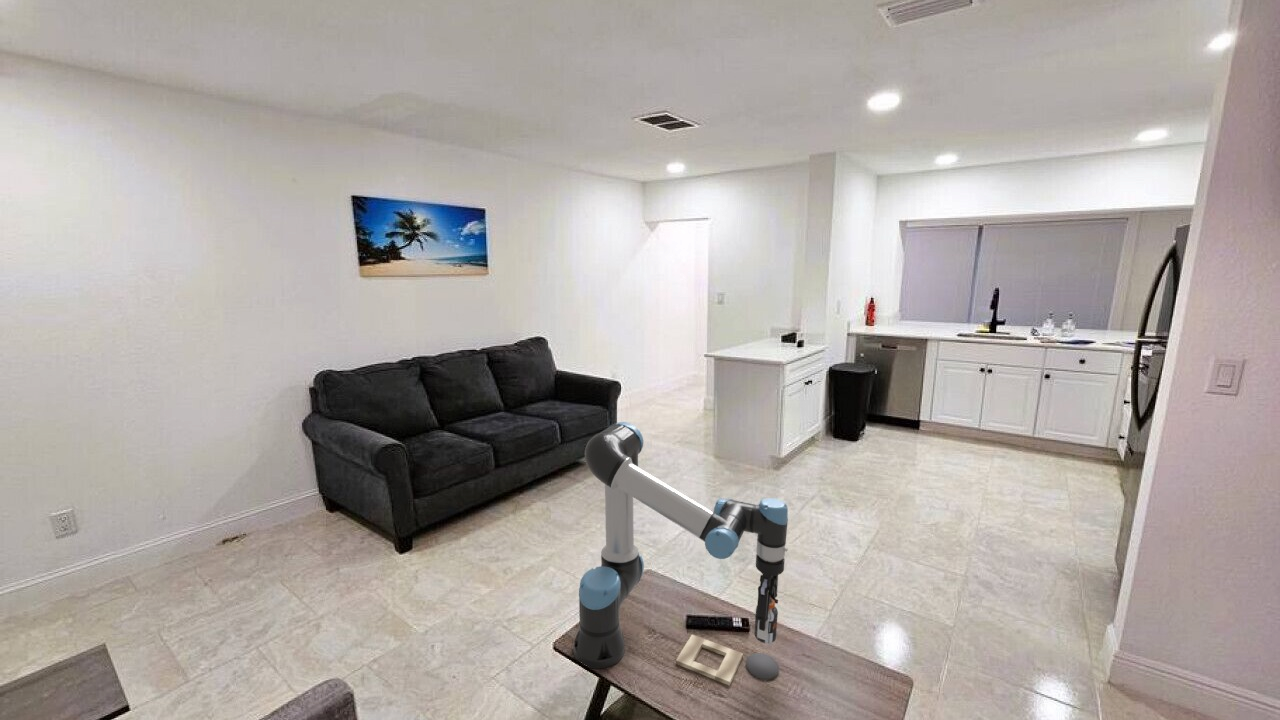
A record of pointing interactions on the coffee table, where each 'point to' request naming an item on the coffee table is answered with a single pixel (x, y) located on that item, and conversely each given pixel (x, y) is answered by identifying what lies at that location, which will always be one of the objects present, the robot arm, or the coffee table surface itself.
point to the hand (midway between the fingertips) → (765, 630)
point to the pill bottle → (772, 623)
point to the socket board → (721, 675)
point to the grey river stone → (762, 666)
